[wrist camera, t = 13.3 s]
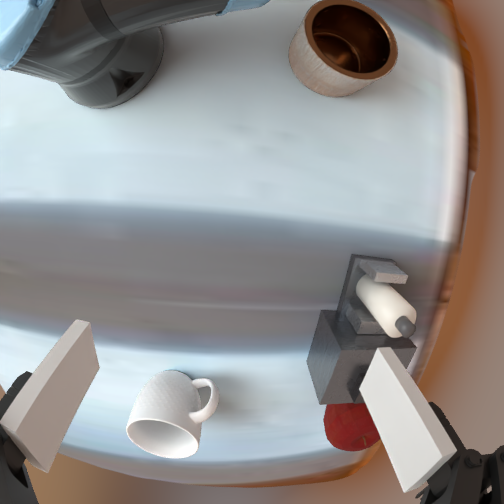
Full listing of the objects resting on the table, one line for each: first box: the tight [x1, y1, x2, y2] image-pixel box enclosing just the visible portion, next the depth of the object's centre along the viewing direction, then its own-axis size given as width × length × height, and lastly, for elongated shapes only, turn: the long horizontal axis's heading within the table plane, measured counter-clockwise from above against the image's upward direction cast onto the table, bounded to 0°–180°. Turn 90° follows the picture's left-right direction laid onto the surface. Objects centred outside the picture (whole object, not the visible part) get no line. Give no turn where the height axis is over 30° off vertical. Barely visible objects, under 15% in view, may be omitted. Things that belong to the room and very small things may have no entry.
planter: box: [289, 0, 398, 97], centre depth 26 cm, size 11×11×10 cm
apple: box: [323, 403, 381, 451], centre depth 41 cm, size 12×12×13 cm
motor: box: [306, 254, 417, 405], centre depth 37 cm, size 22×12×12 cm, turn 172°
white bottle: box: [356, 274, 416, 338], centre depth 33 cm, size 4×4×12 cm
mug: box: [126, 370, 219, 458], centre depth 39 cm, size 15×11×13 cm
